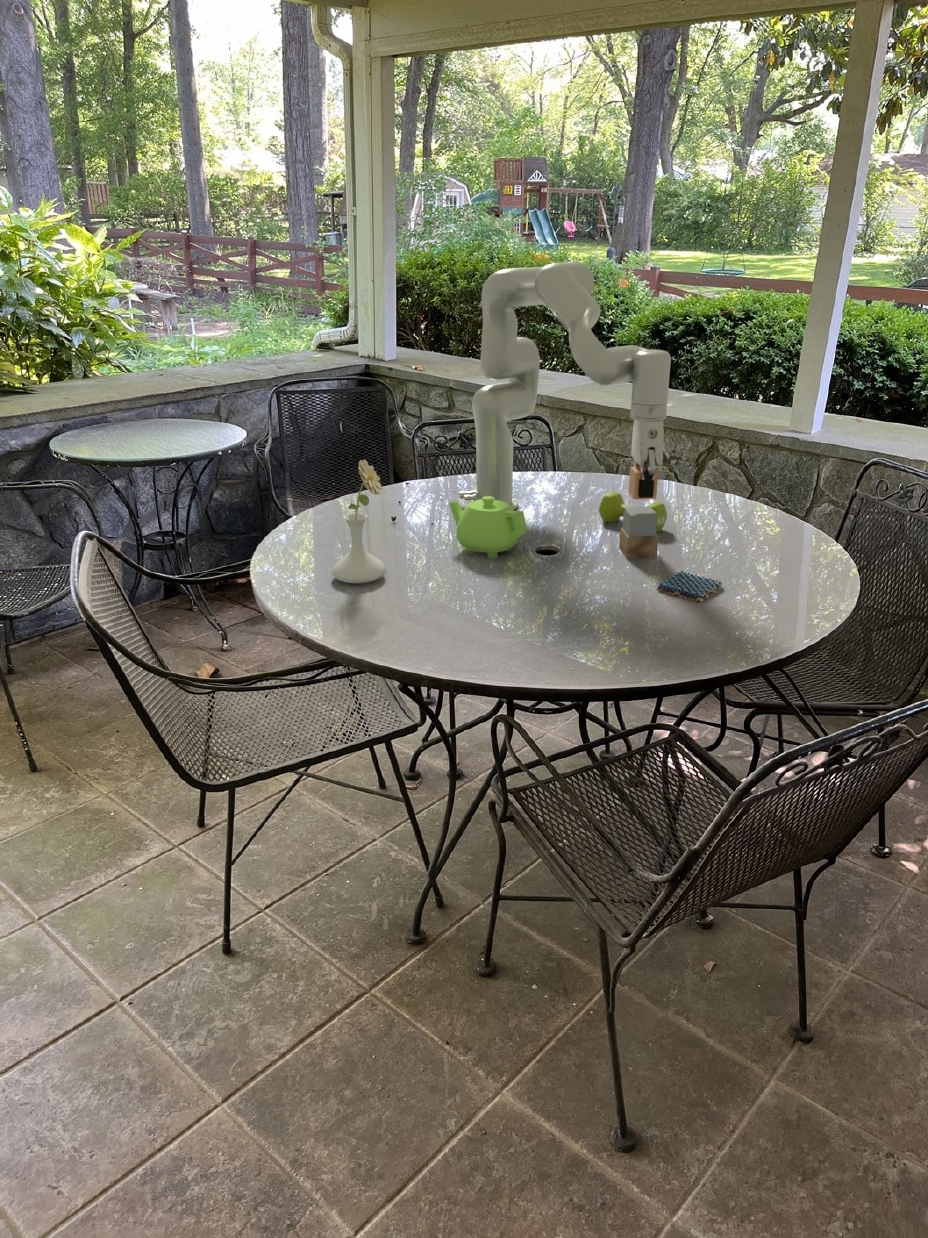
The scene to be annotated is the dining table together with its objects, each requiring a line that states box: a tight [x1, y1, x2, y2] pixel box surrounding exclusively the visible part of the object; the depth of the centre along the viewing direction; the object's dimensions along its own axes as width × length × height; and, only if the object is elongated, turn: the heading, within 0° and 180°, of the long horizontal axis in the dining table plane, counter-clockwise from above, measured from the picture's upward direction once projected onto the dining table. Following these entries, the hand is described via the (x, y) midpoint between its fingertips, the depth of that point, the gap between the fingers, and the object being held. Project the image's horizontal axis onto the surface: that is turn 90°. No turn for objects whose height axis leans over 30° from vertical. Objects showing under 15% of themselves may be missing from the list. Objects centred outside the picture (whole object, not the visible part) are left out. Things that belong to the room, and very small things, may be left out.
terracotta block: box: [628, 466, 659, 500], centre depth 191 cm, size 5×5×6 cm
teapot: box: [448, 496, 528, 559], centre depth 198 cm, size 20×13×13 cm
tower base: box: [618, 527, 659, 559], centre depth 197 cm, size 7×7×5 cm
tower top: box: [622, 506, 657, 537], centre depth 195 cm, size 6×6×5 cm
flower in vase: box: [331, 459, 387, 584], centre depth 181 cm, size 13×11×25 cm
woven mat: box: [656, 570, 723, 603], centre depth 178 cm, size 10×11×2 cm
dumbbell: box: [598, 491, 668, 534], centre depth 214 cm, size 16×8×7 cm, turn 46°
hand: (642, 492), depth 192 cm, fingers closed on terracotta block, 4 cm apart
